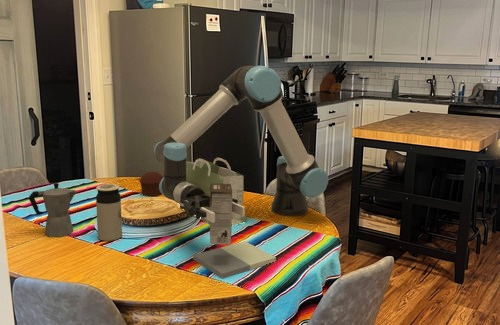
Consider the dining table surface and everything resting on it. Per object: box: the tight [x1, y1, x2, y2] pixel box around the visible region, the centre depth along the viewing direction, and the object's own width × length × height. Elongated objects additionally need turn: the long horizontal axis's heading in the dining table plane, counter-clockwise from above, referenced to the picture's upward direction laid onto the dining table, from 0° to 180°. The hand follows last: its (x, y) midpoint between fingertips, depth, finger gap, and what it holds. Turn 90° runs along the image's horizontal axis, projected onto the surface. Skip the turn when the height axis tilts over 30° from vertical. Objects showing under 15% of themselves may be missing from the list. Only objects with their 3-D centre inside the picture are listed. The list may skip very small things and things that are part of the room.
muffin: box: [138, 171, 164, 198], centre depth 216 cm, size 12×11×10 cm
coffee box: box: [209, 183, 233, 245], centre depth 142 cm, size 9×6×16 cm
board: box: [192, 240, 277, 279], centre depth 148 cm, size 20×16×2 cm
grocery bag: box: [186, 157, 248, 225], centre depth 189 cm, size 32×14×23 cm, turn 39°
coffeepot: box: [28, 182, 78, 238], centre depth 166 cm, size 15×9×18 cm, turn 110°
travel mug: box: [95, 183, 123, 242], centre depth 163 cm, size 8×8×18 cm
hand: (229, 214), depth 138 cm, fingers closed on coffee box, 10 cm apart
